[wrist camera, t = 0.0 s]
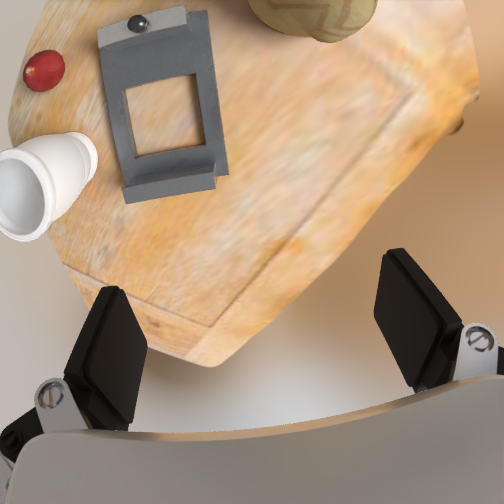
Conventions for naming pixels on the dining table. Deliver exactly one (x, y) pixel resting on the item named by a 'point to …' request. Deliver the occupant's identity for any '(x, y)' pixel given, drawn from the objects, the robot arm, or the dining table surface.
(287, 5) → the ceramic vessel
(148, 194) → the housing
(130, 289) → the dining table surface
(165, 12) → the door
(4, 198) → the jar
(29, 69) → the onion
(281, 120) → the dining table surface
